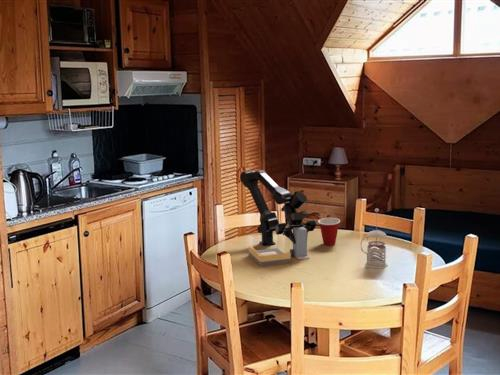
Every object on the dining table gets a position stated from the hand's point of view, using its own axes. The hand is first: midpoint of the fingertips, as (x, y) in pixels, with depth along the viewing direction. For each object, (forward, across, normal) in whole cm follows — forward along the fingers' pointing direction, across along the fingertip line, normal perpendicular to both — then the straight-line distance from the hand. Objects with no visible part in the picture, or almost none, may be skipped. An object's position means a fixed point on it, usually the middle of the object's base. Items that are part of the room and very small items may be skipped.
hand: (300, 242), depth 268 cm
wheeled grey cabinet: (+4, 0, +6) cm, 7 cm away
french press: (+21, +25, -11) cm, 34 cm away
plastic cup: (-6, +21, +16) cm, 27 cm away
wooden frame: (+3, -14, +6) cm, 16 cm away
